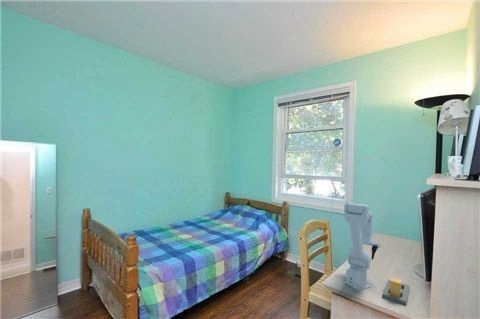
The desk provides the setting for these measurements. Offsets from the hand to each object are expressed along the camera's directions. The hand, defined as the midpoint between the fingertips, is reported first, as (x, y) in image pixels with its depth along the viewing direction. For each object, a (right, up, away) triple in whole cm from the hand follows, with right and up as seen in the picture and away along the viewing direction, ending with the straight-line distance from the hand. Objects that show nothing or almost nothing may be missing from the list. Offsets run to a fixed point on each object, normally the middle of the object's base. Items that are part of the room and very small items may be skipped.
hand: (364, 257), depth 130 cm
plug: (+3, -9, -22) cm, 24 cm away
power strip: (+5, -9, -18) cm, 21 cm away
